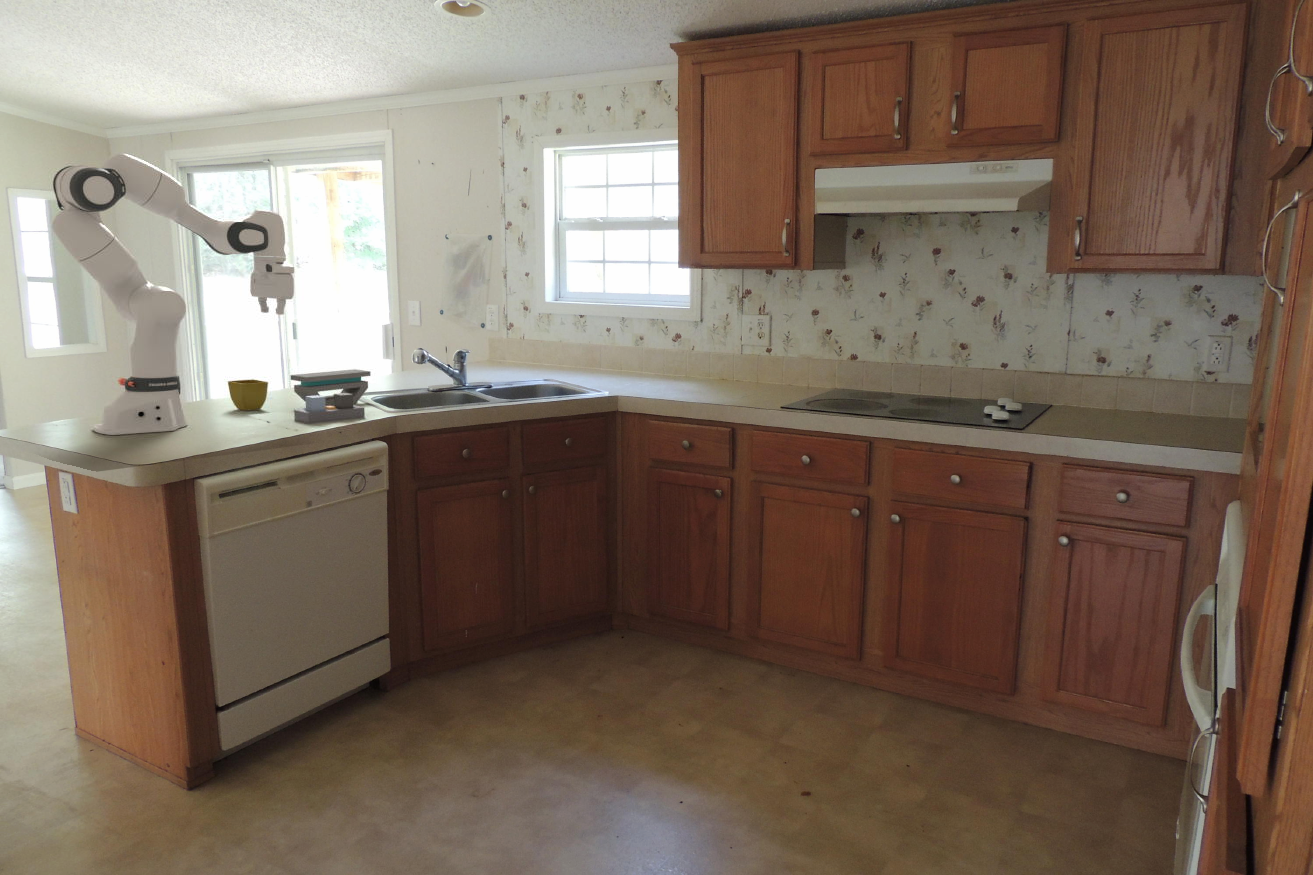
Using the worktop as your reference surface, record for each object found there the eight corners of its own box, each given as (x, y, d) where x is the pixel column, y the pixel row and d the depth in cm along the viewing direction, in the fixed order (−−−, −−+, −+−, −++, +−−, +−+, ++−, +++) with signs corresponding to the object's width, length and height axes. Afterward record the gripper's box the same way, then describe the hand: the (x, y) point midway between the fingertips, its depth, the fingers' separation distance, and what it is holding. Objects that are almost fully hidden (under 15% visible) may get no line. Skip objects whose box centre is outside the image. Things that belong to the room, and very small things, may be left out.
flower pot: (254, 406, 287) (253, 378, 285) (270, 409, 282) (268, 381, 281) (228, 409, 280) (226, 381, 278) (243, 412, 275) (242, 383, 273)
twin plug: (341, 418, 265) (340, 395, 264) (334, 416, 268) (333, 393, 266) (353, 417, 268) (352, 394, 267) (346, 415, 271) (345, 392, 269)
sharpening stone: (356, 400, 306) (355, 369, 304) (371, 403, 302) (370, 371, 300) (291, 408, 286) (290, 375, 284) (307, 411, 282) (305, 377, 280)
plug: (313, 421, 258) (312, 397, 257) (306, 419, 261) (305, 396, 260) (326, 420, 261) (325, 396, 260) (319, 418, 264) (318, 395, 263)
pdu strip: (308, 427, 255) (307, 411, 255) (294, 423, 261) (294, 407, 260) (364, 420, 269) (364, 405, 268) (350, 417, 274) (350, 402, 273)
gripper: (243, 265, 268) (245, 311, 270) (276, 267, 255) (278, 315, 257) (264, 266, 272) (266, 311, 275) (297, 267, 259) (299, 315, 262)
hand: (272, 313), depth 266 cm, fingers open, 8 cm apart
